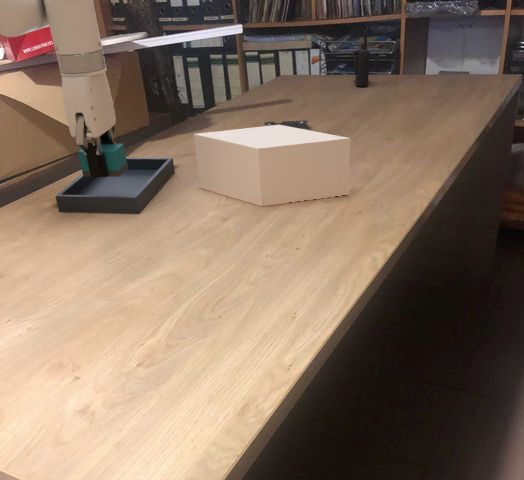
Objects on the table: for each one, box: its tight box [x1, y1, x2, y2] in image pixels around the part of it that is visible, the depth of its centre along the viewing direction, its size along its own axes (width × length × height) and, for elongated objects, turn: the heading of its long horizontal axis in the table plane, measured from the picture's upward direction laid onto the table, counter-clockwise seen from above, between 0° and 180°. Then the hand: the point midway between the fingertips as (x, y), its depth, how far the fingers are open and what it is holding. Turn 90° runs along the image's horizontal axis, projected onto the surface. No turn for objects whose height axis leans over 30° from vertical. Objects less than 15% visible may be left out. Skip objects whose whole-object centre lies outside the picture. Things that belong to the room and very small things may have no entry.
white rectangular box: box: [193, 125, 351, 207], centre depth 109 cm, size 14×29×10 cm, turn 75°
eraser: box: [77, 143, 128, 177], centre depth 108 cm, size 7×4×4 cm, turn 80°
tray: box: [54, 157, 176, 215], centre depth 116 cm, size 22×16×3 cm
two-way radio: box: [352, 29, 371, 88], centre depth 174 cm, size 6×4×15 cm
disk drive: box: [263, 120, 309, 130], centre depth 136 cm, size 10×3×15 cm
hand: (105, 170), depth 109 cm, fingers closed on eraser, 4 cm apart
